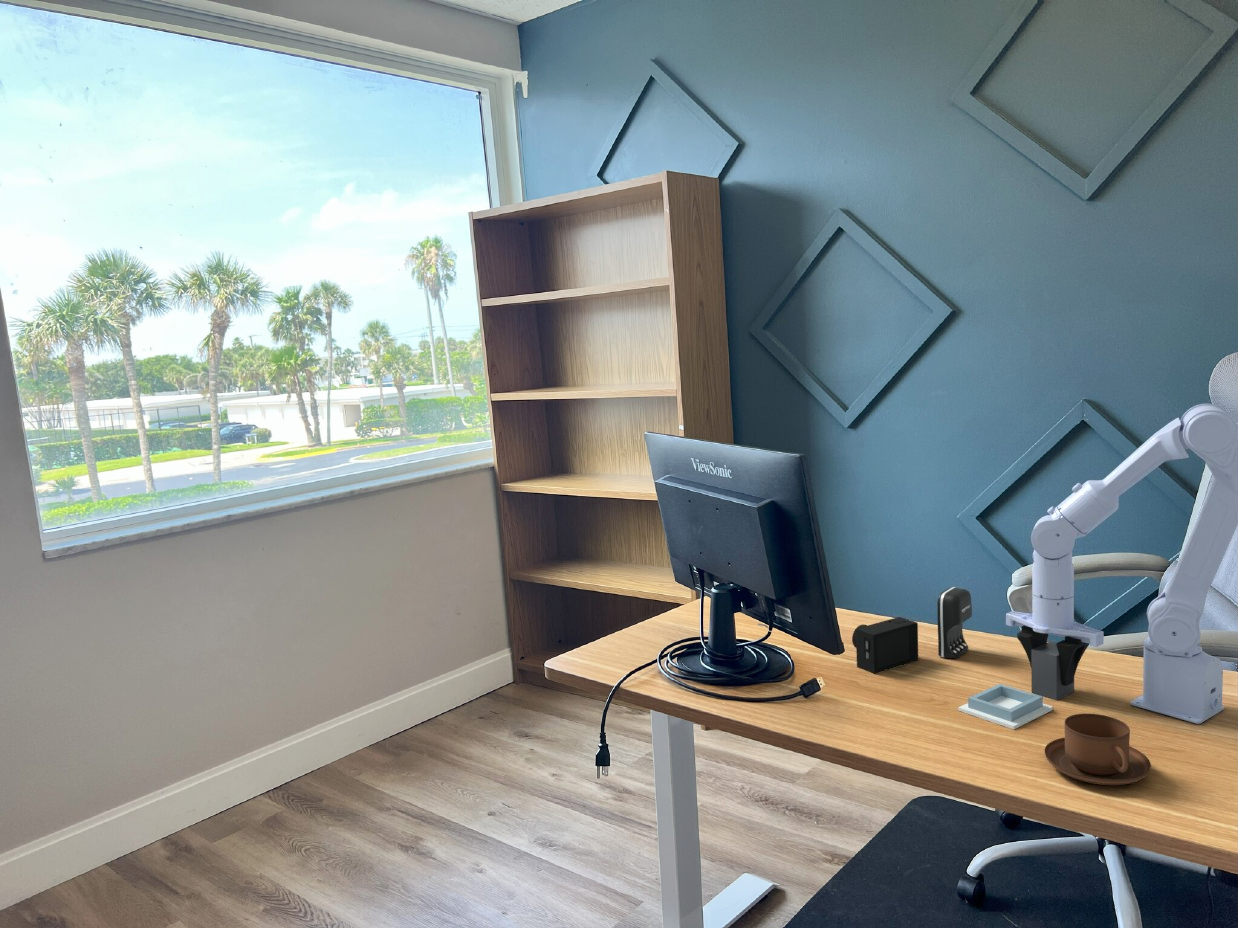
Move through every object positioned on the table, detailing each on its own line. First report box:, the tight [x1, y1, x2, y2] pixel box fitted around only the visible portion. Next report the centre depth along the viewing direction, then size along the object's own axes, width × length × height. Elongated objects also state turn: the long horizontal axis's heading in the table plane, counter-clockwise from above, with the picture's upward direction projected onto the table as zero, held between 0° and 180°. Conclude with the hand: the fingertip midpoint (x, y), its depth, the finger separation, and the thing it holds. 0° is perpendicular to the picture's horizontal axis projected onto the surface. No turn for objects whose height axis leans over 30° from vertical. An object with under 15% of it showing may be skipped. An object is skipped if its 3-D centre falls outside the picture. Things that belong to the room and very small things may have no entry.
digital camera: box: [851, 616, 919, 675], centre depth 157 cm, size 10×5×7 cm, turn 119°
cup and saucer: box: [1044, 713, 1152, 786], centre depth 116 cm, size 12×12×6 cm
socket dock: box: [957, 683, 1054, 730], centre depth 135 cm, size 9×10×2 cm
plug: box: [1030, 641, 1075, 701], centre depth 140 cm, size 4×5×7 cm
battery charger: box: [936, 586, 973, 659], centre depth 159 cm, size 7×4×11 cm, turn 137°
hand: (1052, 679), depth 140 cm, fingers closed on plug, 4 cm apart
